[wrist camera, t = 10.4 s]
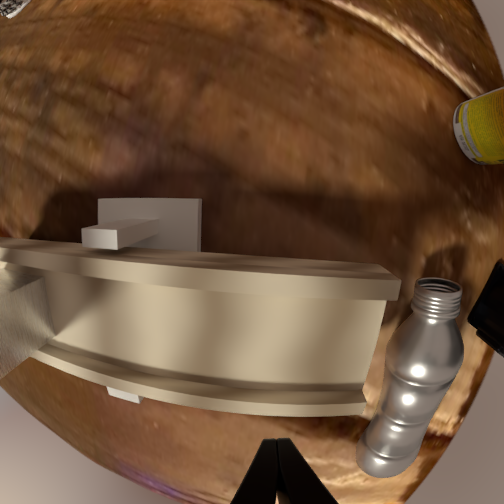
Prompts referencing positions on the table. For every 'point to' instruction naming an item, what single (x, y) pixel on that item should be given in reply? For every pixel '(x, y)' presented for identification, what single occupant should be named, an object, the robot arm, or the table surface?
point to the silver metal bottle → (414, 378)
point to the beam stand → (145, 231)
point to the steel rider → (22, 317)
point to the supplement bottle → (481, 127)
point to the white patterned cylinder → (12, 7)
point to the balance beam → (211, 325)
